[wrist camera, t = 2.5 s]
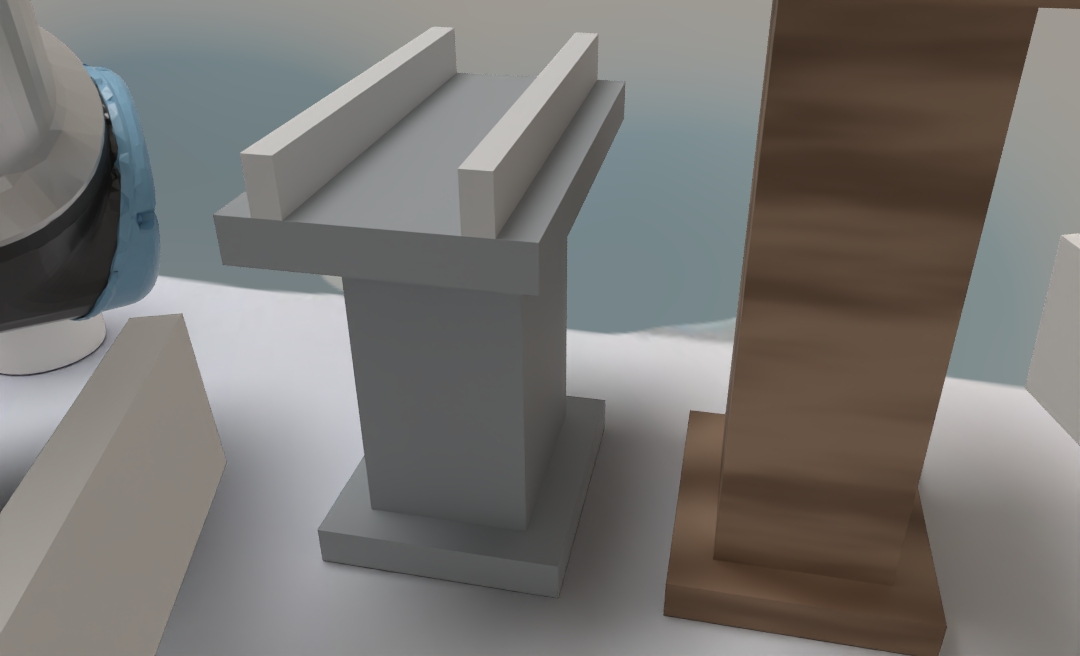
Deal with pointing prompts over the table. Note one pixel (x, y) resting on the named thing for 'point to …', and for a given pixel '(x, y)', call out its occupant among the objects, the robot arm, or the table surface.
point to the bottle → (49, 345)
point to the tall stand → (847, 319)
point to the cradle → (446, 300)
